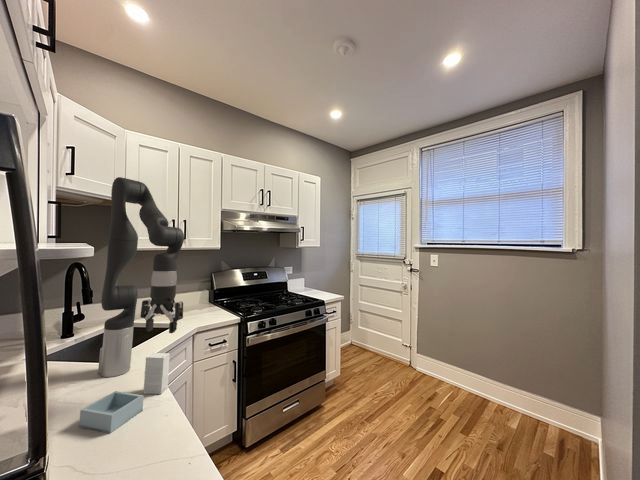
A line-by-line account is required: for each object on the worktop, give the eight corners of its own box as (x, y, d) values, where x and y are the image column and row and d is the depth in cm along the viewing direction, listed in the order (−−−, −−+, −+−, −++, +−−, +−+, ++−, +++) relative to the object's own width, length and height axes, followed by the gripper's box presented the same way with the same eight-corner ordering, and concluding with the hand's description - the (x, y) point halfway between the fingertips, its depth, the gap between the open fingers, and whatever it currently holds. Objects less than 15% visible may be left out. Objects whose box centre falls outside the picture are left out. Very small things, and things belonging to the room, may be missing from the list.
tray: (78, 427, 70) (80, 409, 70) (114, 406, 80) (115, 391, 80) (110, 433, 68) (111, 415, 68) (142, 410, 78) (143, 395, 78)
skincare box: (168, 388, 91) (170, 353, 92) (161, 394, 87) (163, 357, 88) (150, 387, 91) (153, 352, 92) (142, 394, 87) (145, 357, 88)
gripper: (189, 283, 93) (186, 330, 92) (153, 281, 95) (150, 327, 94) (175, 286, 85) (171, 336, 85) (136, 284, 87) (132, 333, 87)
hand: (160, 331), depth 89 cm, fingers open, 8 cm apart
